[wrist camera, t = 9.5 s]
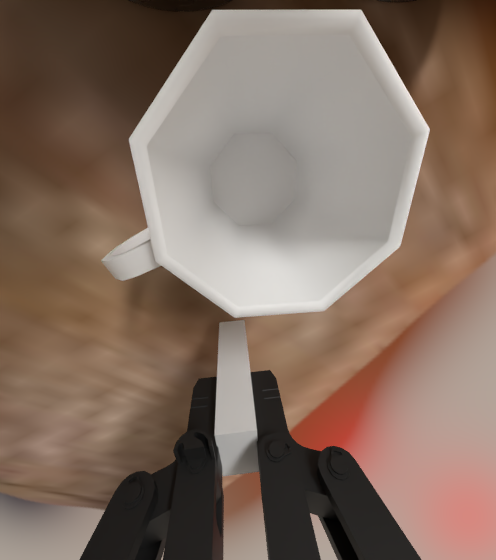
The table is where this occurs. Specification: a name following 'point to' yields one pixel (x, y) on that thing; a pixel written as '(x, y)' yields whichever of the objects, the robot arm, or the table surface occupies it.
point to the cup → (275, 162)
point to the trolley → (197, 4)
